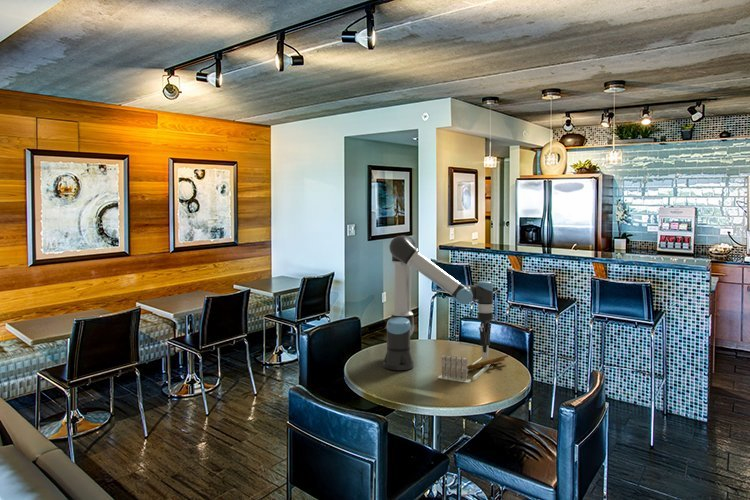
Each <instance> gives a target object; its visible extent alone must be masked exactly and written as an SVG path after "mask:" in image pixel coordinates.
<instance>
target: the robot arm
mask: <svg viewBox="0 0 750 500" xmlns="http://www.w3.org/2000/svg"><path fill="white" fill-rule="evenodd" d="M388 247H389V252H390V254H391V262H392V263H393V264H394V296H393V297H394V303H393V304H394V305H393V306H394V307H393V308H394V310H393V311H392V312H391V314H390V315H391V316H390V317H391V318H389V319H388V320H387V322H386V351H385V355H384V358H383V362H382V364H383V366H382V367H383V368H385V369H387V370H391V371H392V370H393V371H406V370H411V369H413V368H414V365H415V363H414V361H415V360H414V359H413V356H412V351H411V336H412V335H413V333H414V332H415V322H414V319H415V318H414V315H415V314H414V313H413V311H412V310H411V309H412V268H413V269H415V270H416V271H417V272H418V273H420V274H422V275H423V276H424V277H426V278H427V279H429V280H430V281H431V282H432V283H434V284H435V285H437V286H438V287H440V288H441V289H442V290H443V291H445V292H446V293H447V294H449V295H450V296H452V297H453V299H454V300H456V301H457V302H458V303H459V304H460V305H468V304H470V303H472V301H477V320H479V321H480V326H479V327H478V331H479V339H480V346H482V347H481V349H482V350H481V355H482V356H481V357H482V358H483V359H484V360H486V359H487V360H488V359H489V346H491V329H492V323H491V322H490V321H492V320H493V319H494V313H493V312H494V308H495V306H494V288H493V287H494V285H493V282H492V281H489V280H480V281H478V282H477V283H476V285H475V284H474V285H472V284H471V285H470V284H469V285H468V284H467V285H466V284H462V283H461V282H459V280H457V279H455V278H454V277H453V276H452V275H450V274H449V273H447V272H446V271H445V270H443V268H441V267H439V266H438V265H437V264H435V263H434V262H433V261H431V259H429V258H428V257H425V256H424V255H423V254H421V252H419V251H420V250H419V249H418V248H417V247H416V243H415V240H414V239H413V238H412V237H410V236H408V235H397V236H395V237H394V238H393V239H392V240H391V241H390V243H389V245H388Z"/></svg>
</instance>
